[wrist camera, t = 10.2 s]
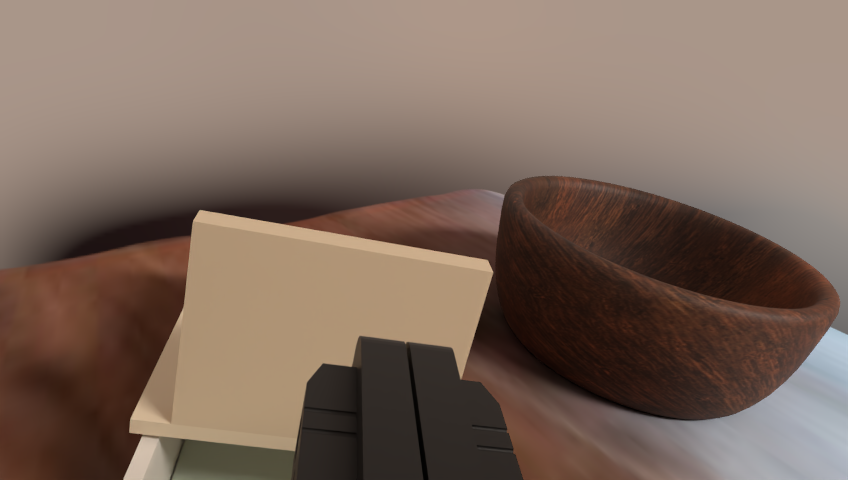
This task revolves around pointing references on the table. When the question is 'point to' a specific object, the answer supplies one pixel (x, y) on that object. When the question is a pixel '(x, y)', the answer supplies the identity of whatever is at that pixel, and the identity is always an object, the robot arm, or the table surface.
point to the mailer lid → (293, 323)
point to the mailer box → (206, 461)
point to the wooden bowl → (654, 297)
